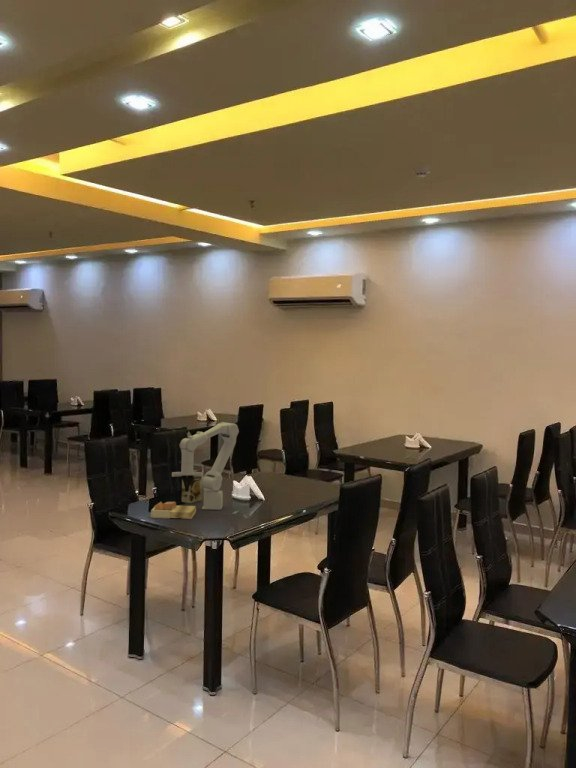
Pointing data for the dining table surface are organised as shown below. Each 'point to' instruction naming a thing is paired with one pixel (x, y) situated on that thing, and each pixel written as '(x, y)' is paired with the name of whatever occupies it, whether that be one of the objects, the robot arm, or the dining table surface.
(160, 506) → the tile
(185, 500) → the coffee box
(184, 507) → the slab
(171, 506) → the tile
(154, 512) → the tray
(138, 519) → the dining table surface
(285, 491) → the dining table surface
